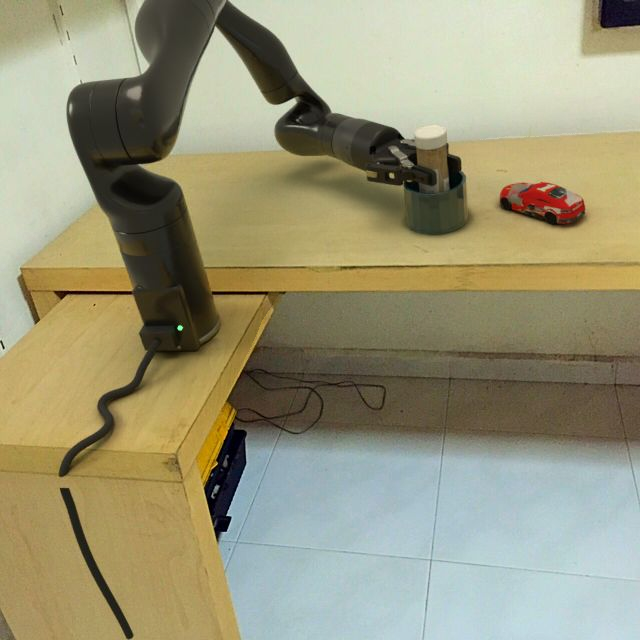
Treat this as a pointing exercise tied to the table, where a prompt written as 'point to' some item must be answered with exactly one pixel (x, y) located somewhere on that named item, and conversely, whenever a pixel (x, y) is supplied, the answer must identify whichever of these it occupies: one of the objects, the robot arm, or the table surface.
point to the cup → (437, 206)
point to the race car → (543, 201)
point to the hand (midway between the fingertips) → (447, 172)
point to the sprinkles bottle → (433, 156)
